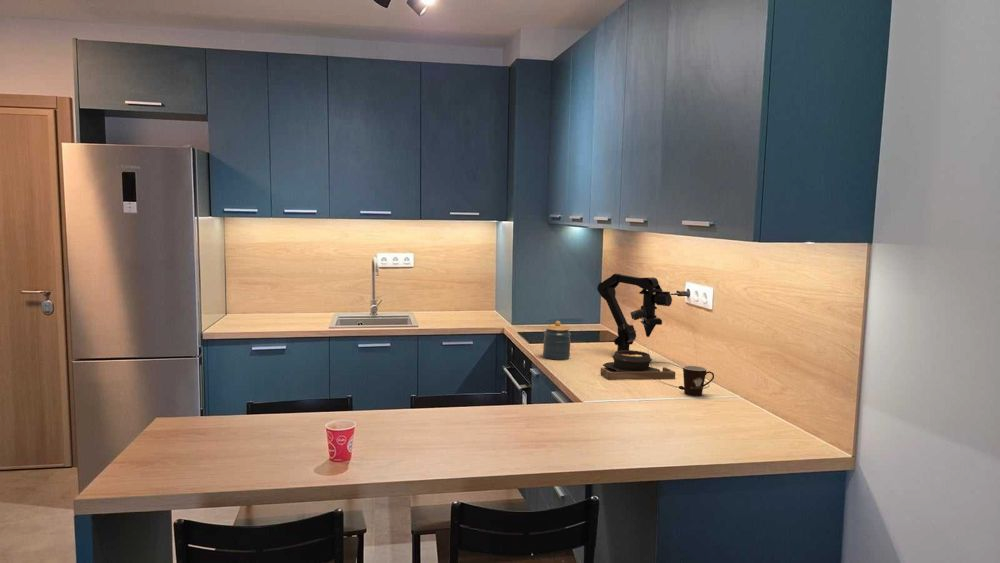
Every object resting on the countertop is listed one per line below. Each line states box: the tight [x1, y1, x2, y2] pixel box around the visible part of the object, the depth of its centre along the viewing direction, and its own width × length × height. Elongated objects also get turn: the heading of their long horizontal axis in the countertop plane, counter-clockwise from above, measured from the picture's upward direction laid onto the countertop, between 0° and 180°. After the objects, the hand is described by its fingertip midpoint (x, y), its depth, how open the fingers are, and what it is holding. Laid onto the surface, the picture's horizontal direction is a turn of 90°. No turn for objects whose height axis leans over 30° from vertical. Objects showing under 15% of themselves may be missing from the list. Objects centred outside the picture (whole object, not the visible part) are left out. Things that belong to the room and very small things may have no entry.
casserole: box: [603, 349, 661, 372], centre depth 281 cm, size 25×19×8 cm
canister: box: [542, 320, 572, 361], centre depth 306 cm, size 13×13×18 cm
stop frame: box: [599, 366, 676, 381], centre depth 272 cm, size 9×30×3 cm, turn 103°
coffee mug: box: [682, 365, 715, 397], centre depth 246 cm, size 12×9×10 cm
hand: (647, 336), depth 304 cm, fingers closed
